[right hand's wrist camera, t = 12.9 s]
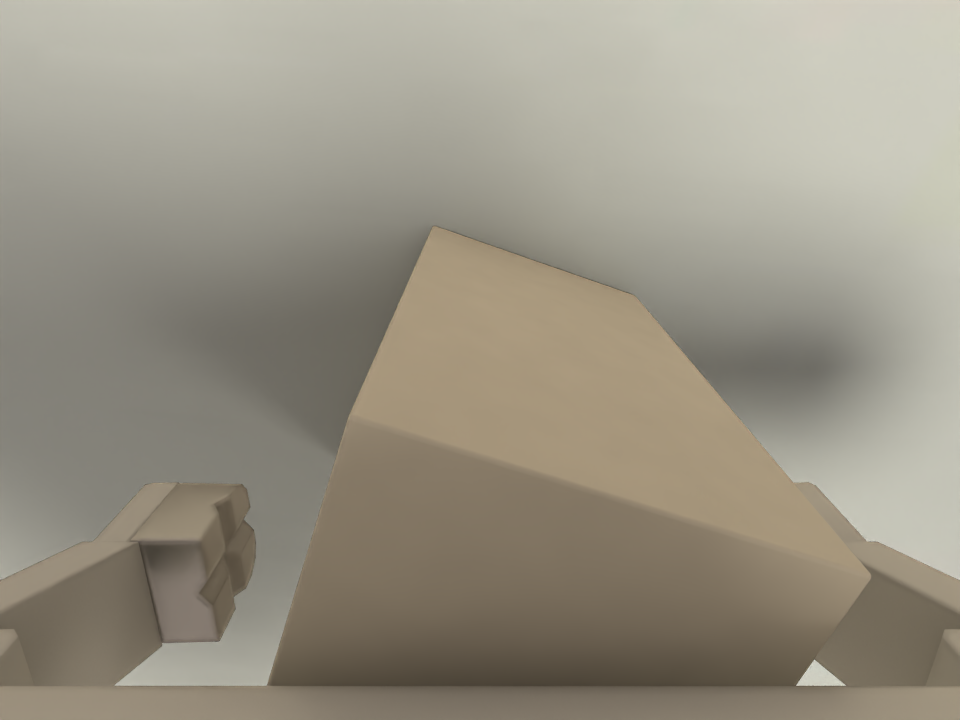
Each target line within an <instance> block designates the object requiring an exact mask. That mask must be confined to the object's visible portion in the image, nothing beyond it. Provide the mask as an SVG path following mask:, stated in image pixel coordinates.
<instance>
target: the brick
mask: <svg viewBox="0 0 960 720" xmlns="http://www.w3.org/2000/svg"><path fill="white" fill-rule="evenodd" d="M870 579H871V574H870V573H869V572H868V570H867V569H866V568H865V567H864V566H863V564H862V563H861V562H860V561H859V560H858V559H857V557H856V556H855V555H854V554H853V553H852V551H851V550H850V549H849V548H848V547H847V546H846V544H845V543H844V542H843V541H842V540H841V538H840V537H839V536H838V535H837V534H836V533H835V531H834V530H833V529H832V528H831V527H830V525H829V524H828V523H827V522H826V521H825V520H824V518H823V517H822V516H821V515H820V514H819V512H818V511H817V510H816V509H815V508H814V507H813V505H812V504H811V503H810V502H809V501H808V499H807V498H806V497H805V496H804V495H803V494H802V492H801V491H800V490H799V489H798V488H797V486H796V485H795V484H794V483H793V482H792V481H791V479H790V478H789V477H788V476H787V475H786V473H785V472H784V471H783V470H782V469H781V468H780V466H779V465H778V464H777V463H776V462H775V460H774V459H773V458H772V457H771V456H770V455H769V453H768V452H767V451H766V450H765V449H764V447H763V446H762V445H761V444H760V443H759V442H758V440H757V439H756V438H755V437H754V436H753V434H752V433H751V432H750V431H749V430H748V429H747V427H746V426H745V425H744V424H743V423H742V421H741V420H740V419H739V418H738V417H737V416H736V414H735V413H734V412H733V411H732V410H731V408H730V407H729V406H728V405H727V404H726V403H725V401H724V400H723V399H722V398H721V397H720V395H719V394H718V393H717V392H716V391H715V390H714V388H713V387H712V386H711V385H710V384H709V382H708V381H707V380H706V379H705V378H704V377H703V375H702V374H701V373H700V372H699V371H698V369H697V368H696V367H695V366H694V365H693V364H692V362H691V361H690V360H689V359H688V358H687V356H686V355H685V354H684V353H683V352H682V351H681V349H680V348H679V347H678V346H677V345H676V343H675V342H674V341H673V340H672V339H671V338H670V336H669V335H668V334H667V333H666V332H665V330H664V329H663V328H662V327H661V326H660V325H659V323H658V322H657V321H656V320H655V319H654V317H653V316H652V315H651V314H650V313H649V312H648V310H647V309H646V308H645V307H644V306H643V304H642V303H641V302H640V301H639V300H638V299H637V297H636V296H635V295H632V294H629V293H626V292H623V291H620V290H617V289H615V288H612V287H609V286H606V285H603V284H600V283H597V282H594V281H592V280H589V279H586V278H583V277H580V276H577V275H574V274H571V273H569V272H566V271H563V270H560V269H557V268H554V267H551V266H548V265H546V264H543V263H540V262H537V261H534V260H531V259H528V258H525V257H523V256H520V255H517V254H514V253H511V252H508V251H505V250H502V249H500V248H497V247H494V246H491V245H488V244H485V243H482V242H479V241H477V240H474V239H471V238H468V237H465V236H462V235H459V234H456V233H454V232H451V231H448V230H445V229H442V228H439V227H436V226H433V227H432V229H431V231H430V233H429V236H428V238H427V240H426V243H425V245H424V247H423V249H422V252H421V254H420V256H419V258H418V261H417V263H416V265H415V267H414V270H413V272H412V274H411V276H410V279H409V281H408V283H407V285H406V288H405V290H404V292H403V295H402V297H401V299H400V301H399V304H398V306H397V308H396V310H395V313H394V315H393V317H392V319H391V322H390V324H389V326H388V328H387V331H386V333H385V335H384V337H383V340H382V342H381V344H380V347H379V349H378V351H377V353H376V356H375V358H374V360H373V362H372V365H371V367H370V369H369V371H368V374H367V376H366V378H365V380H364V383H363V385H362V387H361V389H360V392H359V394H358V396H357V399H356V401H355V403H354V405H353V408H352V410H351V412H350V414H349V417H348V419H347V423H346V426H345V429H344V433H343V436H342V439H341V443H340V446H339V449H338V453H337V456H336V459H335V462H334V466H333V469H332V472H331V476H330V479H329V482H328V486H327V489H326V492H325V495H324V499H323V502H322V505H321V509H320V512H319V515H318V519H317V522H316V525H315V529H314V532H313V535H312V538H311V542H310V545H309V548H308V552H307V555H306V558H305V562H304V565H303V568H302V571H301V575H300V578H299V581H298V585H297V588H296V591H295V595H294V598H293V601H292V605H291V608H290V611H289V614H288V618H287V621H286V624H285V628H284V631H283V634H282V638H281V641H280V644H279V647H278V651H277V654H276V657H275V661H274V664H273V667H272V671H271V674H270V677H269V681H268V684H267V686H796V684H797V683H798V682H799V680H800V679H801V677H802V676H803V674H804V673H805V672H806V670H807V669H808V667H809V666H810V665H811V663H812V662H813V660H814V659H815V657H816V656H817V655H818V653H819V652H820V650H821V649H822V648H823V646H824V645H825V643H826V642H827V640H828V639H829V638H830V636H831V635H832V633H833V632H834V631H835V629H836V628H837V626H838V625H839V623H840V622H841V621H842V619H843V618H844V616H845V615H846V614H847V612H848V611H849V609H850V608H851V606H852V605H853V604H854V602H855V601H856V599H857V598H858V596H859V595H860V594H861V592H862V591H863V589H864V588H865V587H866V585H867V584H868V582H869V581H870Z"/></svg>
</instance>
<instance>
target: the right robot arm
mask: <svg viewBox="0 0 960 720" xmlns="http://www.w3.org/2000/svg"><path fill="white" fill-rule="evenodd" d="M794 484H795V485H796V486H797V488H798V489H799V490H800V491H801V492H802V494H803V495H804V496H805V497H806V498H807V499H808V501H809V502H810V503H811V504H812V505H813V507H814V508H815V509H816V510H817V511H818V512H819V514H820V515H821V516H822V517H823V518H824V520H825V521H826V522H827V523H828V524H829V525H830V527H831V528H832V529H833V530H834V531H835V533H836V534H837V535H838V536H839V537H840V538H841V540H842V541H843V542H844V543H845V544H846V546H847V547H848V548H849V549H850V550H851V551H852V553H853V554H854V555H855V556H856V557H857V559H858V560H859V561H860V562H861V563H862V564H863V566H864V567H865V568H866V569H867V570H868V572H869V573H870V574H871V579H870V581H869V582H868V584H867V585H866V587H865V588H864V589H863V591H862V592H861V594H860V595H859V596H858V598H857V599H856V601H855V602H854V604H853V605H852V606H851V608H850V609H849V611H848V612H847V614H846V615H845V616H844V618H843V619H842V621H841V622H840V623H839V625H838V626H837V628H836V629H835V631H834V632H833V633H832V635H831V636H830V638H829V639H828V640H827V642H826V643H825V645H824V646H823V648H822V649H821V650H820V652H819V653H818V655H817V656H816V657H815V660H816V661H817V662H818V663H819V664H821V665H822V666H823V667H824V668H826V669H827V670H828V671H829V672H831V673H832V674H833V675H834V676H835V677H837V678H838V679H839V680H840V681H842V682H843V683H844V684H845V685H846V686H114V685H115V684H116V683H117V682H119V681H120V680H121V679H122V678H124V677H125V676H126V675H127V674H128V673H130V672H131V671H132V670H133V669H135V668H136V667H137V666H138V665H139V664H141V663H142V662H143V661H144V660H146V659H147V658H148V657H149V656H150V655H152V654H153V653H154V652H155V651H157V650H158V649H159V648H160V647H162V643H178V642H213V641H220V639H221V637H222V635H223V633H224V631H225V629H226V627H227V625H228V623H229V621H230V619H231V617H232V615H233V613H234V611H235V603H234V596H235V595H237V594H238V593H240V592H241V591H243V590H244V589H246V587H247V585H248V582H249V580H250V578H251V576H252V572H253V567H254V563H255V558H256V542H255V534H254V530H253V529H252V528H251V527H250V526H249V525H248V524H247V523H246V522H245V520H244V517H245V516H246V514H247V512H248V510H249V509H250V503H249V497H248V492H247V489H246V488H245V487H244V486H243V485H242V484H214V483H179V482H177V483H150V484H146V485H144V486H143V488H142V489H141V490H140V491H139V492H138V493H137V494H136V495H135V496H134V497H133V498H132V499H131V501H130V502H129V503H128V504H127V505H126V506H125V507H124V508H123V509H122V510H121V511H120V513H119V514H118V515H117V516H116V517H115V518H114V519H113V520H112V521H111V522H110V523H109V525H108V526H107V527H106V528H105V529H104V530H103V531H102V532H101V533H100V534H99V535H98V537H97V538H96V539H95V540H94V541H93V542H81V543H79V544H77V545H75V546H72V547H70V548H68V549H66V550H64V551H62V552H60V553H58V554H55V555H53V556H51V557H49V558H47V559H45V560H43V561H40V562H38V563H36V564H34V565H32V566H30V567H28V568H26V569H23V570H21V571H19V572H17V573H15V574H13V575H11V576H9V577H6V578H4V579H2V580H0V720H960V580H958V579H955V578H953V577H951V576H949V575H947V574H945V573H943V572H941V571H938V570H936V569H934V568H932V567H930V566H928V565H926V564H924V563H921V562H919V561H917V560H915V559H913V558H911V557H909V556H907V555H904V554H902V553H900V552H898V551H896V550H894V549H892V548H890V547H887V546H885V545H883V544H881V543H879V542H867V541H866V540H865V539H864V538H863V537H862V536H861V534H860V533H859V532H858V531H857V530H856V529H855V528H854V527H853V526H852V525H851V524H850V522H849V521H848V520H847V519H846V518H845V517H844V516H843V515H842V514H841V513H840V512H839V510H838V509H837V508H836V507H835V506H834V505H833V504H832V503H831V502H830V501H829V500H828V498H827V497H826V496H825V495H824V494H823V493H822V492H821V491H820V490H819V489H818V488H817V486H816V485H813V484H811V483H809V482H800V483H794Z"/></svg>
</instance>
